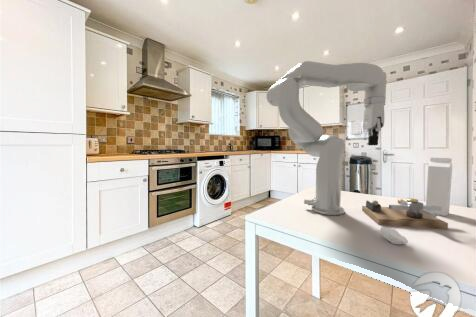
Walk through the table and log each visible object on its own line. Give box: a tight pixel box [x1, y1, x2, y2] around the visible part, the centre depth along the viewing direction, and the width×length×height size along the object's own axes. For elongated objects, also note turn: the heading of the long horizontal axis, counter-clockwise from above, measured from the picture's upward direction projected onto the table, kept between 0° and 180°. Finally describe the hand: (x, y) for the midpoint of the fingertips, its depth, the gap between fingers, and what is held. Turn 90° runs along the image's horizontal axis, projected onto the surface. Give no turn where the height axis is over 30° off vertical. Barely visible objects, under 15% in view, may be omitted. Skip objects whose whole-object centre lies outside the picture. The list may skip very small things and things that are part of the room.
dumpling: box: [380, 226, 409, 245], centre depth 58 cm, size 7×5×4 cm
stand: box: [361, 199, 449, 230], centre depth 76 cm, size 20×15×6 cm
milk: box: [425, 157, 453, 217], centre depth 81 cm, size 6×6×22 cm
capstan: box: [388, 197, 442, 219], centre depth 72 cm, size 16×16×6 cm
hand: (373, 145), depth 89 cm, fingers closed
